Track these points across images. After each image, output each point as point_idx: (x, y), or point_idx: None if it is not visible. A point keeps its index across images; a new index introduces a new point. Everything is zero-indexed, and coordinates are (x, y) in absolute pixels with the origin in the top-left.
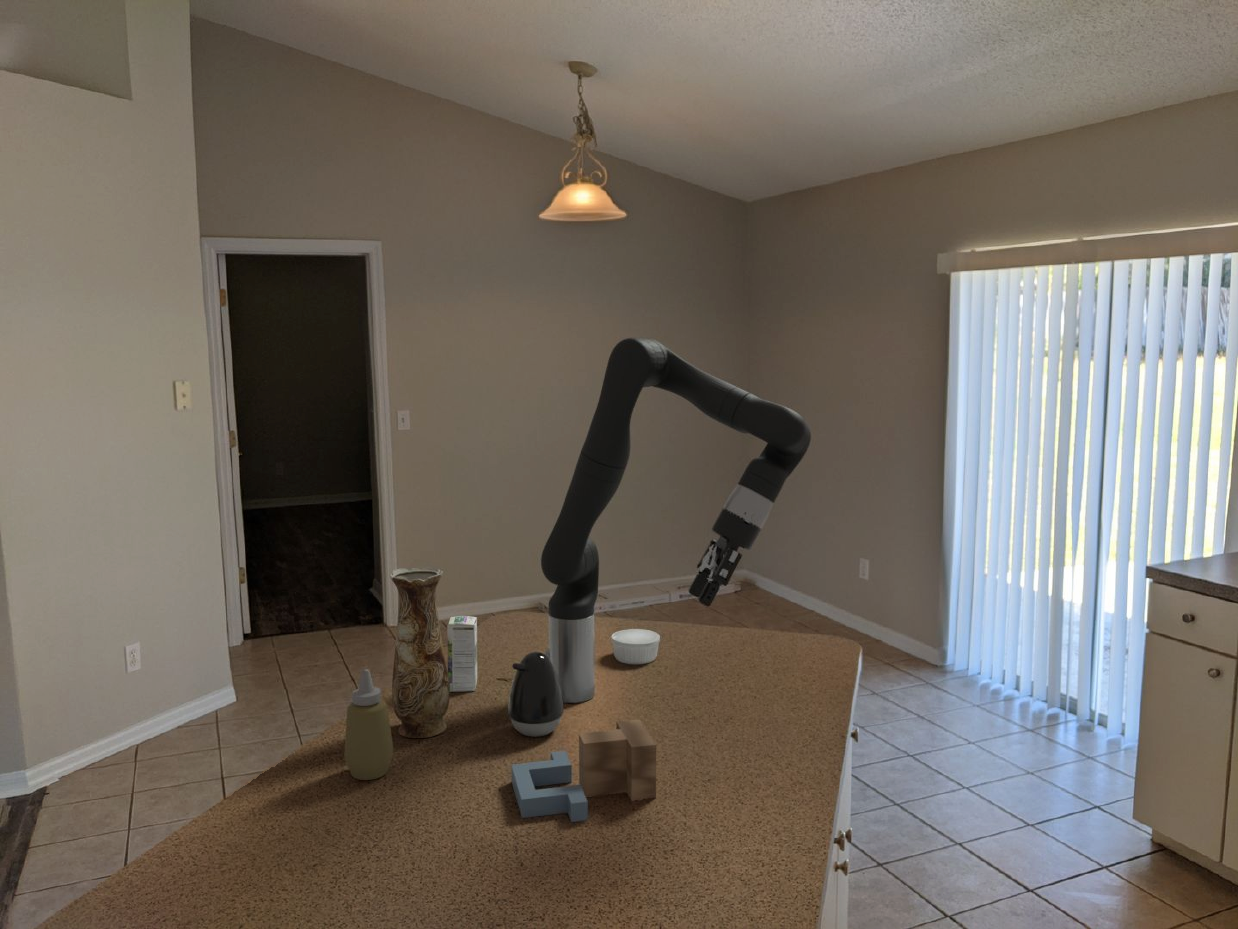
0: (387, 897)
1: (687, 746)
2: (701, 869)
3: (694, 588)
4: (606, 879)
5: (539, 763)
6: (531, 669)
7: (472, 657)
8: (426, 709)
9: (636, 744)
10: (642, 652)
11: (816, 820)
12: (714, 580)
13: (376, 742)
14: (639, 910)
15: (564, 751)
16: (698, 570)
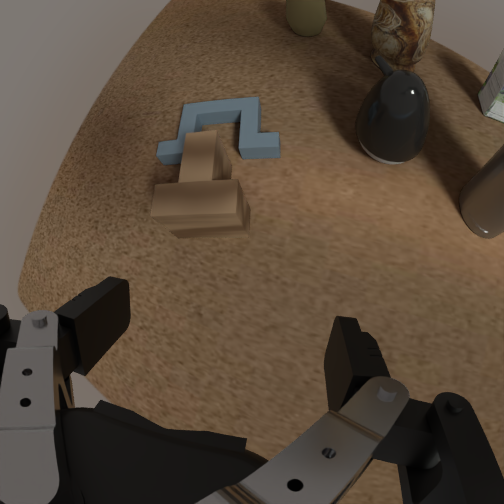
0: (137, 59)
1: (300, 321)
2: (69, 243)
3: (335, 342)
4: (88, 171)
5: (252, 119)
6: (382, 79)
7: (498, 90)
8: (373, 38)
9: (159, 191)
10: None
11: (96, 380)
12: (15, 322)
13: (287, 7)
14: (55, 189)
15: (276, 145)
16: (379, 386)
